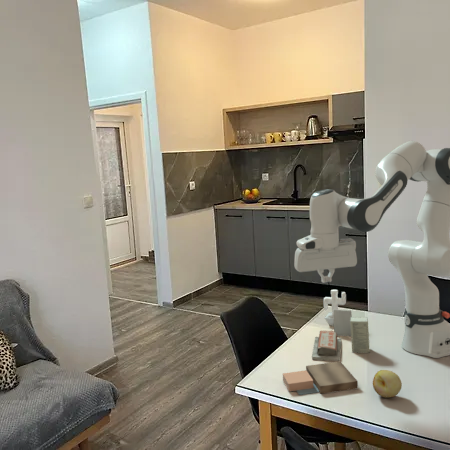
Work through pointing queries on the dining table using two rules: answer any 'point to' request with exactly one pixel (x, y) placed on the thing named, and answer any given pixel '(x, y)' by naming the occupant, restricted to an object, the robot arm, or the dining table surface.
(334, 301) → the figurine
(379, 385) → the fruit
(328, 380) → the walnut stand
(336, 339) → the packaged product
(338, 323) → the grey block
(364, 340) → the skincare box
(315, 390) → the slate mat
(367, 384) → the dining table surface
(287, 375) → the terracotta tile
